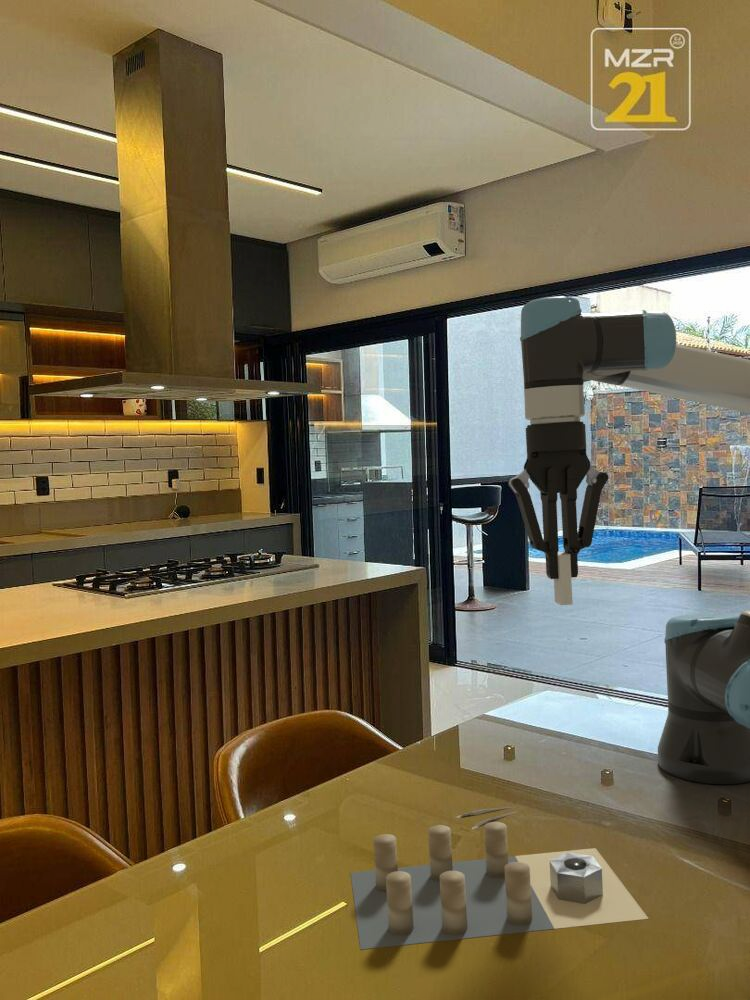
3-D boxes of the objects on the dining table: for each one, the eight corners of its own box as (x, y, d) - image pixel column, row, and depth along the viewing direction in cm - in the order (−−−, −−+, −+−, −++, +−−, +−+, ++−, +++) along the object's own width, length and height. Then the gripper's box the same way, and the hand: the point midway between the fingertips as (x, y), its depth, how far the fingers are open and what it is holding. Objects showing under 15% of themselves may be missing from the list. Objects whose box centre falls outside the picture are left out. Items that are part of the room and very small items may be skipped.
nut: (589, 875, 99) (588, 849, 99) (607, 901, 93) (606, 873, 93) (546, 879, 99) (545, 853, 99) (562, 906, 93) (561, 878, 93)
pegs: (504, 864, 103) (502, 819, 103) (536, 926, 89) (534, 875, 89) (374, 877, 102) (371, 831, 101) (386, 942, 88) (383, 890, 88)
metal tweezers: (467, 840, 112) (467, 825, 112) (449, 827, 117) (449, 812, 117) (575, 818, 120) (575, 803, 120) (554, 806, 124) (554, 792, 124)
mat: (595, 852, 106) (595, 848, 106) (648, 924, 90) (648, 918, 90) (350, 877, 103) (350, 872, 103) (360, 955, 87) (360, 949, 87)
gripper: (594, 419, 116) (601, 594, 117) (498, 425, 114) (507, 601, 116) (615, 417, 108) (623, 604, 110) (512, 423, 107) (522, 612, 108)
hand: (563, 602), depth 113 cm, fingers closed
